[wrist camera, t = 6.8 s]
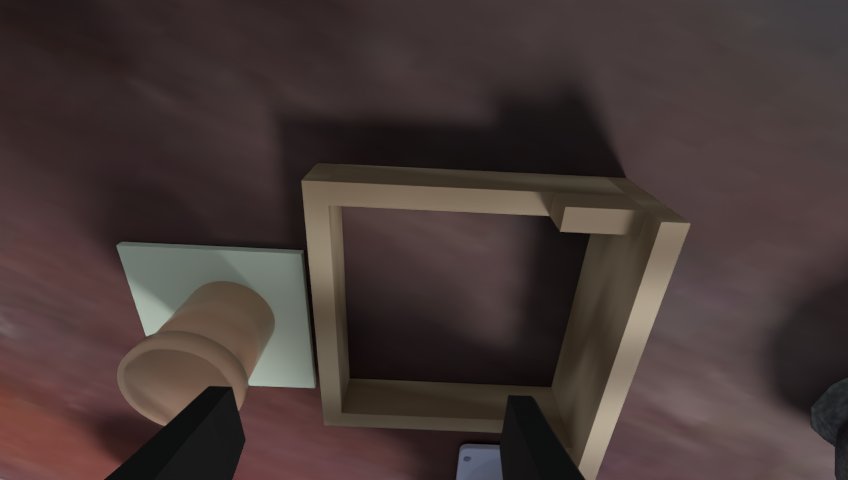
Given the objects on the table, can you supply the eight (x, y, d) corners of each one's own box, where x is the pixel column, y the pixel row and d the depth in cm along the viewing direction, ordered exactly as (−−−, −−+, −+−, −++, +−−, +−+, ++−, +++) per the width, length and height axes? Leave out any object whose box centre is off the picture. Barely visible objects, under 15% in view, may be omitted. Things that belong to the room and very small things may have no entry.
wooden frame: (564, 399, 25) (594, 480, 20) (333, 390, 24) (312, 468, 20) (627, 177, 18) (690, 223, 14) (317, 162, 18) (280, 203, 14)
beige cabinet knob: (283, 357, 23) (248, 434, 18) (192, 351, 23) (134, 428, 18) (274, 280, 21) (232, 347, 16) (173, 273, 20) (101, 339, 16)
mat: (316, 383, 24) (314, 388, 24) (165, 376, 24) (161, 381, 24) (303, 250, 20) (301, 254, 20) (121, 241, 20) (116, 245, 20)
